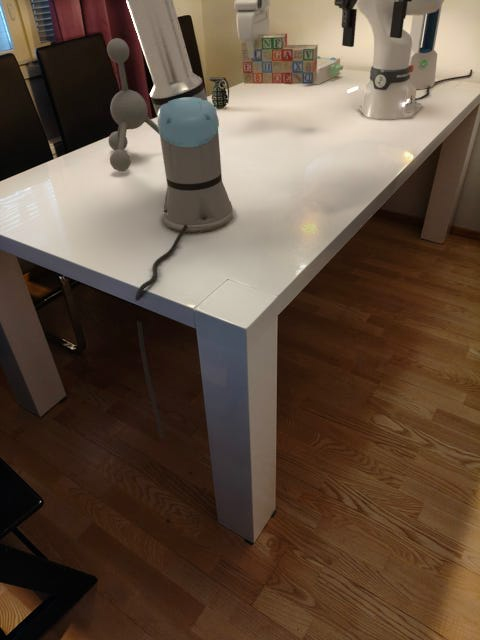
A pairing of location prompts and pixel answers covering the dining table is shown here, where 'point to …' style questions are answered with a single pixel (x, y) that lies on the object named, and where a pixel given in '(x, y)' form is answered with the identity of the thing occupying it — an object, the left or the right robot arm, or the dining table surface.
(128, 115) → the molecular model
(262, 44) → the stack of blocks
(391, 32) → the left robot arm
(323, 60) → the decorative block
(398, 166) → the dining table surface
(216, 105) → the grenade
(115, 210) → the dining table surface
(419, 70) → the electronic device
